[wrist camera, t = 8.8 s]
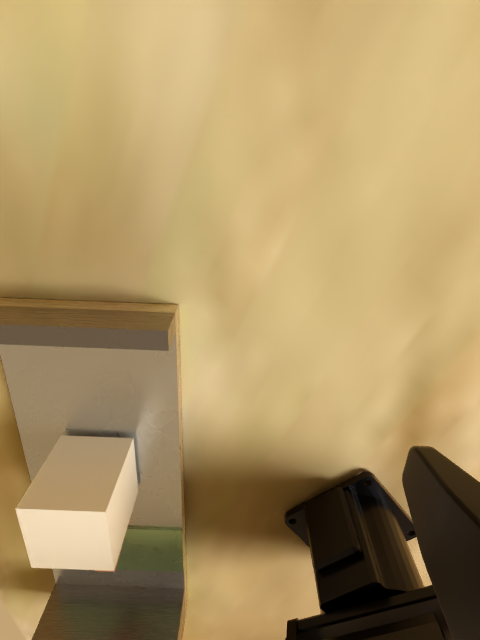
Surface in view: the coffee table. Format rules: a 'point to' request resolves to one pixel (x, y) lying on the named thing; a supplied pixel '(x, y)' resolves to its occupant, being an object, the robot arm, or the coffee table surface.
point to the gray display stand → (107, 421)
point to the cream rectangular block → (80, 504)
